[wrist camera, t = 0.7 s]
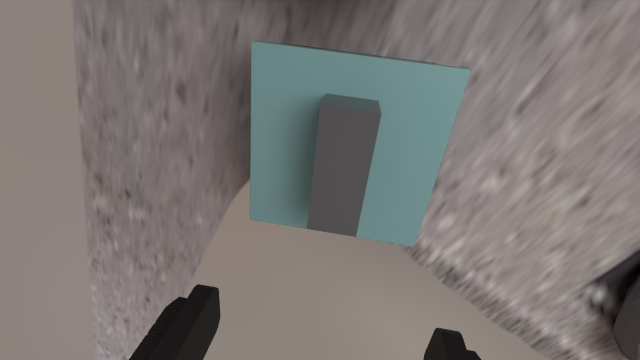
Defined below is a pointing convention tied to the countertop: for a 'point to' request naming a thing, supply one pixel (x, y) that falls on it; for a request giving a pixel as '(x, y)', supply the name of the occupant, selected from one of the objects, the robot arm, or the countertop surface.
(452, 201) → the countertop surface
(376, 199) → the lid
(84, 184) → the countertop surface
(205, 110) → the countertop surface
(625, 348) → the soft grey pack
